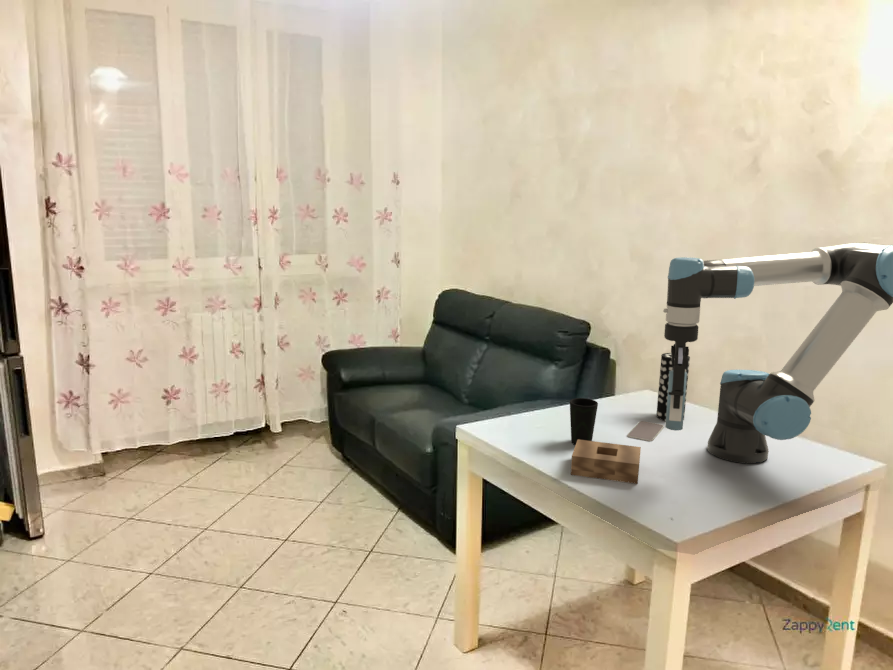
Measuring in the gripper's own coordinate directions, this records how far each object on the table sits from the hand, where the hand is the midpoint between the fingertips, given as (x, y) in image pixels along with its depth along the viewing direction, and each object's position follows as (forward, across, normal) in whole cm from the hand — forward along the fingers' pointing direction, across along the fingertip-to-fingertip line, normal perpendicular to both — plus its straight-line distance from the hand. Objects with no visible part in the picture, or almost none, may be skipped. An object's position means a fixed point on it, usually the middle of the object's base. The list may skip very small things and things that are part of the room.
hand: (674, 417), depth 162 cm
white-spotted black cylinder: (+16, -47, 0) cm, 49 cm away
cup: (+15, -15, -24) cm, 32 cm away
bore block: (+15, +2, -16) cm, 22 cm away
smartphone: (+16, -31, -7) cm, 35 cm away
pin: (+3, 0, 0) cm, 3 cm away
